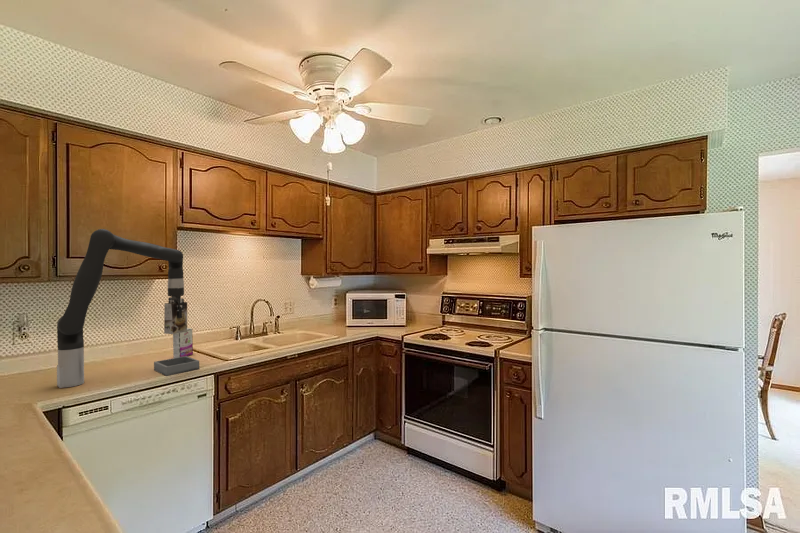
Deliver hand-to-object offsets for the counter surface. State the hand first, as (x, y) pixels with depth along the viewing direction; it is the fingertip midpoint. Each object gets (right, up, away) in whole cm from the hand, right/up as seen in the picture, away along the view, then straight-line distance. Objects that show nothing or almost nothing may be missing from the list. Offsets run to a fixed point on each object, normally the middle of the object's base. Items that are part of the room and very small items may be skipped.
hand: (176, 317), depth 200 cm
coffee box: (0, -8, 0) cm, 8 cm away
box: (0, -28, 0) cm, 28 cm away
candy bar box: (-13, -28, +29) cm, 42 cm away
